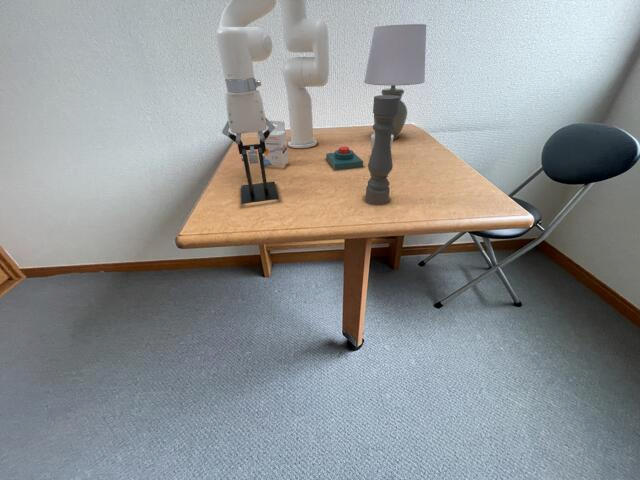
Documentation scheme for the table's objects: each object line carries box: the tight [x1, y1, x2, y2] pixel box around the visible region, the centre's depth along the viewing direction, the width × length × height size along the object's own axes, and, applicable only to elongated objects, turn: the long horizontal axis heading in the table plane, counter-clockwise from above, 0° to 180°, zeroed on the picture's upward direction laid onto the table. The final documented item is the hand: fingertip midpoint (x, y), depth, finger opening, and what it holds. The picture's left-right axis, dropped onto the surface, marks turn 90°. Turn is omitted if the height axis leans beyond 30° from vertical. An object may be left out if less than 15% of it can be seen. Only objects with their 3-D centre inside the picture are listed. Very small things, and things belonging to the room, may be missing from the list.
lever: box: [243, 143, 261, 165], centre depth 77 cm, size 12×5×2 cm, turn 13°
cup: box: [370, 133, 394, 154], centre depth 99 cm, size 11×8×8 cm
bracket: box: [240, 148, 280, 205], centre depth 76 cm, size 12×10×13 cm
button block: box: [325, 149, 364, 171], centre depth 98 cm, size 12×10×4 cm
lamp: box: [363, 23, 427, 140], centre depth 113 cm, size 24×24×40 cm
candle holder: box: [365, 94, 400, 206], centre depth 68 cm, size 6×6×25 cm
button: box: [338, 146, 350, 154], centre depth 96 cm, size 4×4×2 cm
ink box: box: [257, 120, 289, 167], centre depth 95 cm, size 8×5×15 cm, turn 72°
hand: (253, 154), depth 83 cm, fingers closed on lever, 5 cm apart
